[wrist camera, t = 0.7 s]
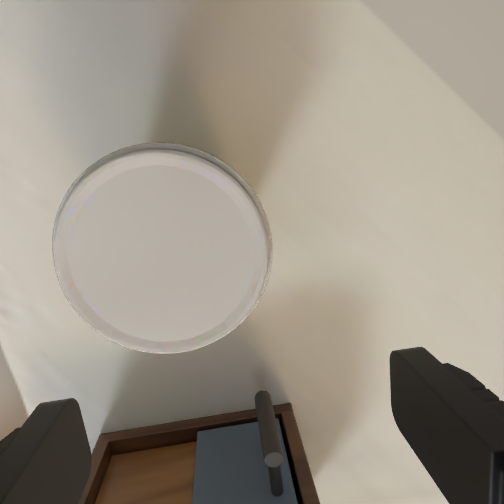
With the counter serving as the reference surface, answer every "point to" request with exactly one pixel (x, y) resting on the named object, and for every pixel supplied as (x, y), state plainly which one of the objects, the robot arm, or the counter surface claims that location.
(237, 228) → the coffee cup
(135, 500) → the cupboard
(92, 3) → the counter surface
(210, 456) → the sliding lid with handle
